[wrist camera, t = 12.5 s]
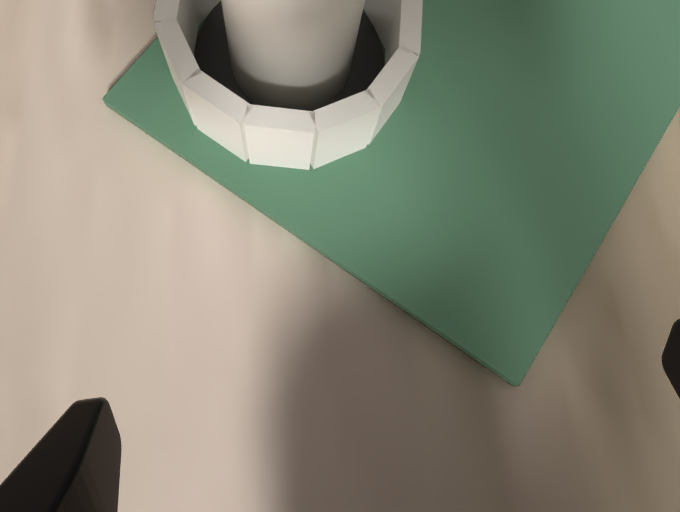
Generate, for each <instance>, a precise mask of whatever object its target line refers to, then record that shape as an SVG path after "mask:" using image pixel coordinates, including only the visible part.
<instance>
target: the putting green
mask: <svg viewBox="0 0 680 512" xmlns="http://www.w3.org/2000/svg"><path fill="white" fill-rule="evenodd" d="M153 21H154V27H155V30H156V33H157V35H158V37H157V38H156V40H155V41H154V42H153V43H152V44H151V45H150V46H149V47H148V48H147V50H146V51H145V52H144V53H143V54H142V55H141V56H140V57H139V58H138V59H137V61H136V62H135V63H134V64H133V65H132V66H131V67H130V68H129V69H128V71H127V72H126V73H125V74H124V75H123V76H122V77H121V78H120V79H119V81H118V82H117V83H116V84H115V85H114V86H113V87H112V88H111V89H110V90H109V92H108V93H107V94H106V95H105V96H104V97H103V98H102V99H103V101H104V102H105V104H106V105H107V106H108V107H109V108H111V109H112V110H114V111H115V112H117V113H118V114H119V115H121V116H122V117H124V118H125V119H127V120H128V121H130V122H131V123H133V124H134V125H135V126H137V127H138V128H140V129H141V130H143V131H144V132H146V133H147V134H148V135H150V136H151V137H153V138H154V139H156V140H157V141H159V142H160V143H162V144H163V145H164V146H166V147H167V148H169V149H170V150H172V151H173V152H175V153H176V154H177V155H179V156H180V157H182V158H183V159H185V160H186V161H188V162H189V163H191V164H192V165H193V166H195V167H196V168H198V169H199V170H201V171H202V172H204V173H205V174H206V175H208V176H209V177H211V178H212V179H214V180H215V181H217V182H218V183H220V184H221V185H222V186H224V187H225V188H227V189H228V190H230V191H231V192H233V193H234V194H235V195H237V196H238V197H240V198H241V199H243V200H244V201H246V202H247V203H249V204H250V205H251V206H253V207H254V208H256V209H257V210H259V211H260V212H262V213H263V214H264V215H266V216H267V217H269V218H270V219H272V220H273V221H275V222H276V223H278V224H279V225H280V226H282V227H283V228H285V229H286V230H288V231H289V232H291V233H292V234H293V235H295V236H296V237H298V238H299V239H301V240H302V241H304V242H305V243H307V244H308V245H309V246H311V247H312V248H314V249H315V250H317V251H318V252H320V253H321V254H322V255H324V256H325V257H327V258H328V259H330V260H331V261H333V262H334V263H336V264H337V265H338V266H340V267H341V268H343V269H344V270H346V271H347V272H349V273H350V274H351V275H353V276H354V277H356V278H357V279H359V280H360V281H362V282H363V283H364V284H366V285H367V286H369V287H370V288H372V289H373V290H375V291H376V292H378V293H379V294H380V295H382V296H383V297H385V298H386V299H388V300H389V301H391V302H392V303H393V304H395V305H396V306H398V307H399V308H401V309H402V310H404V311H405V312H407V313H408V314H409V315H411V316H412V317H414V318H415V319H417V320H418V321H420V322H421V323H422V324H424V325H425V326H427V327H428V328H430V329H431V330H433V331H434V332H436V333H437V334H438V335H440V336H441V337H443V338H444V339H446V340H447V341H449V342H450V343H451V344H453V345H454V346H456V347H457V348H459V349H460V350H462V351H463V352H465V353H466V354H467V355H469V356H470V357H472V358H473V359H475V360H476V361H478V362H479V363H480V364H482V365H483V366H485V367H486V368H488V369H489V370H491V371H492V372H494V373H495V374H496V375H498V376H499V377H501V378H502V379H504V380H505V381H507V382H508V383H509V384H511V385H512V386H519V385H520V383H521V382H522V380H523V378H524V376H525V375H526V373H527V371H528V369H529V368H530V366H531V364H532V362H533V361H534V359H535V357H536V355H537V354H538V352H539V350H540V348H541V347H542V345H543V343H544V341H545V340H546V338H547V336H548V335H549V333H550V331H551V329H552V328H553V326H554V324H555V322H556V321H557V319H558V317H559V315H560V314H561V312H562V310H563V308H564V307H565V305H566V303H567V301H568V300H569V298H570V296H571V294H572V293H573V291H574V289H575V288H576V286H577V284H578V282H579V281H580V279H581V277H582V275H583V274H584V272H585V270H586V268H587V267H588V265H589V263H590V261H591V260H592V258H593V256H594V254H595V253H596V251H597V249H598V247H599V246H600V244H601V242H602V240H603V239H604V237H605V235H606V234H607V232H608V230H609V228H610V227H611V225H612V223H613V221H614V220H615V218H616V216H617V214H618V213H619V211H620V209H621V207H622V206H623V204H624V202H625V200H626V199H627V197H628V195H629V193H630V192H631V190H632V188H633V186H634V185H635V183H636V181H637V180H638V178H639V176H640V174H641V173H642V171H643V169H644V167H645V166H646V164H647V162H648V160H649V159H650V157H651V155H652V153H653V152H654V150H655V148H656V146H657V145H658V143H659V141H660V139H661V138H662V136H663V134H664V132H665V131H666V129H667V127H668V126H669V124H670V122H671V120H672V119H673V117H674V115H675V113H676V112H677V110H678V108H679V106H680V0H365V2H364V7H363V11H362V16H361V21H360V25H359V30H358V35H357V39H356V44H355V49H354V53H353V58H352V62H351V67H350V72H349V76H348V79H347V82H346V84H345V86H344V88H343V90H342V91H341V93H340V94H339V95H338V96H337V97H336V99H335V100H333V101H332V102H331V103H330V104H328V105H327V106H324V107H322V108H319V109H317V110H314V111H305V110H296V109H287V108H279V107H270V106H261V105H256V104H255V103H254V102H252V101H251V100H250V99H249V98H248V97H247V96H246V95H245V94H244V93H243V92H242V90H241V89H240V88H239V86H238V84H237V82H236V81H235V78H234V75H233V72H232V68H231V61H230V55H229V48H228V42H227V35H226V29H225V22H224V16H223V9H222V3H221V0H156V5H155V11H154V17H153Z"/></svg>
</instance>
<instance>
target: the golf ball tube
mask: <svg viewBox="0 0 680 512" xmlns="http://www.w3.org/2000/svg"><path fill="white" fill-rule="evenodd" d="M364 2H365V0H221V3H222V9H223V16H224V22H225V29H226V35H227V42H228V48H229V55H230V61H231V68H232V72H233V75H234V78H235V81H236V82H237V84H238V86H239V88H240V89H241V90H242V92H243V93H244V94H245V95H246V96H247V97H248V98H249V99H250V100H251V101H252V102H254V103H255V104H256V105H261V106H270V107H279V108H287V109H296V110H305V111H314V110H317V109H319V108H322V107H324V106H327V105H328V104H330V103H331V102H332V101H333V100H335V99H336V97H337V96H338V95H339V94H340V93H341V91H342V90H343V88H344V86H345V84H346V82H347V79H348V76H349V72H350V67H351V62H352V58H353V53H354V49H355V44H356V39H357V35H358V30H359V25H360V21H361V16H362V11H363V7H364Z"/></svg>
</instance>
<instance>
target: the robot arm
mask: <svg viewBox="0 0 680 512" xmlns="http://www.w3.org/2000/svg"><path fill="white" fill-rule="evenodd" d="M662 365H663V369H664V371H665V373H666V375H667V377H668V378H669V380H670V382H671V384H672V386H673V387H674V389H675V391H676V393H677V395H678V396H679V398H680V319H678V320H677V321H676V322H675V323H674V324H673V326H672V329H671V332H670V335H669V337H668V340H667V343H666V346H665V348H664V351H663V354H662ZM120 464H121V438H120V434H119V431H118V428H117V425H116V422H115V419H114V416H113V413H112V410H111V407H110V405H109V402H108V401H107V400H106V399H105V398H102V397H99V398H91V399H84V400H79V401H76V402H75V403H73V404H72V405H71V406H70V407H69V408H68V410H67V411H66V412H65V413H64V414H63V415H62V416H61V417H60V418H59V420H58V421H57V422H56V423H55V424H54V425H53V426H52V427H51V429H50V430H49V431H48V432H47V433H46V434H45V435H44V436H43V438H42V439H41V440H40V441H39V442H38V443H37V444H36V445H35V447H34V448H33V449H32V450H31V451H30V452H29V453H28V454H27V456H26V457H25V458H24V459H23V460H22V461H21V462H20V463H19V464H18V466H17V467H16V468H15V469H14V470H13V471H12V472H11V473H10V475H9V476H8V477H7V478H6V479H5V480H4V481H3V482H2V484H1V485H0V512H117V509H118V494H119V479H120Z"/></svg>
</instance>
